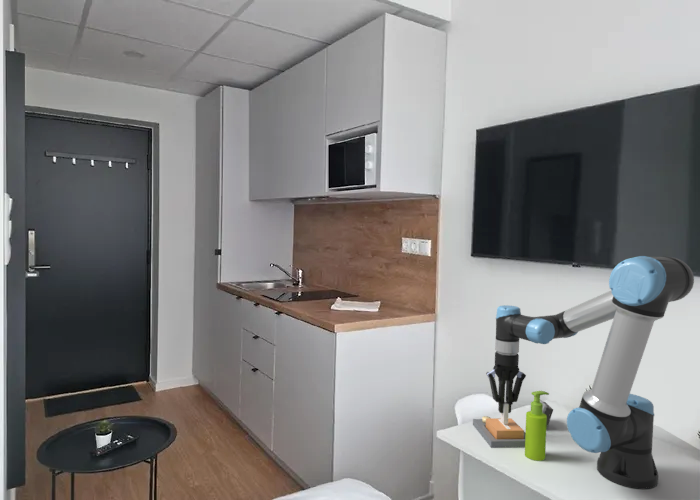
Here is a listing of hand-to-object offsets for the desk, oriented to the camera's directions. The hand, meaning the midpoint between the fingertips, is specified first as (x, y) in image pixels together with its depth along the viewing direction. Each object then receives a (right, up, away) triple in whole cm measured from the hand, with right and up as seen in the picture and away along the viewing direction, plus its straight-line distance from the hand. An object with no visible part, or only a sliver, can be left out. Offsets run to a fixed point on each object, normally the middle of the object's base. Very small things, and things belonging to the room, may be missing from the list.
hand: (504, 422), depth 159 cm
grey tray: (0, -5, +2) cm, 6 cm away
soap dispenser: (+6, -6, -12) cm, 15 cm away
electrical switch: (+16, -6, +11) cm, 20 cm away
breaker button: (0, -4, 0) cm, 4 cm away
